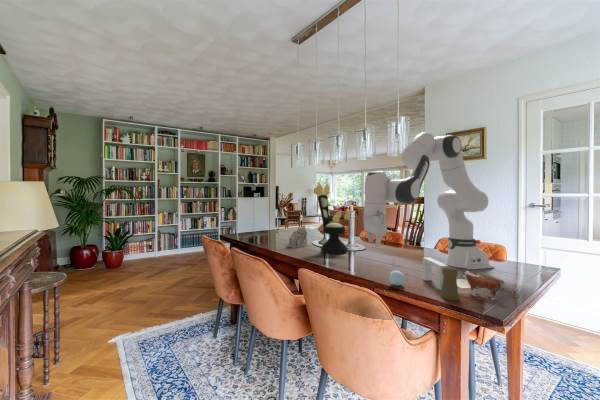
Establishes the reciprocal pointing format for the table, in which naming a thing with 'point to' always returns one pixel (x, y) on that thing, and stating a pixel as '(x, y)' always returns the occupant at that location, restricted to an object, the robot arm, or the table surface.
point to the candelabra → (331, 228)
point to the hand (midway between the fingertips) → (374, 243)
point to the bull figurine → (482, 284)
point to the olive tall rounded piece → (449, 284)
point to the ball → (396, 278)
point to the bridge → (428, 270)
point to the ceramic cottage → (298, 238)
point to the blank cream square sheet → (463, 284)
